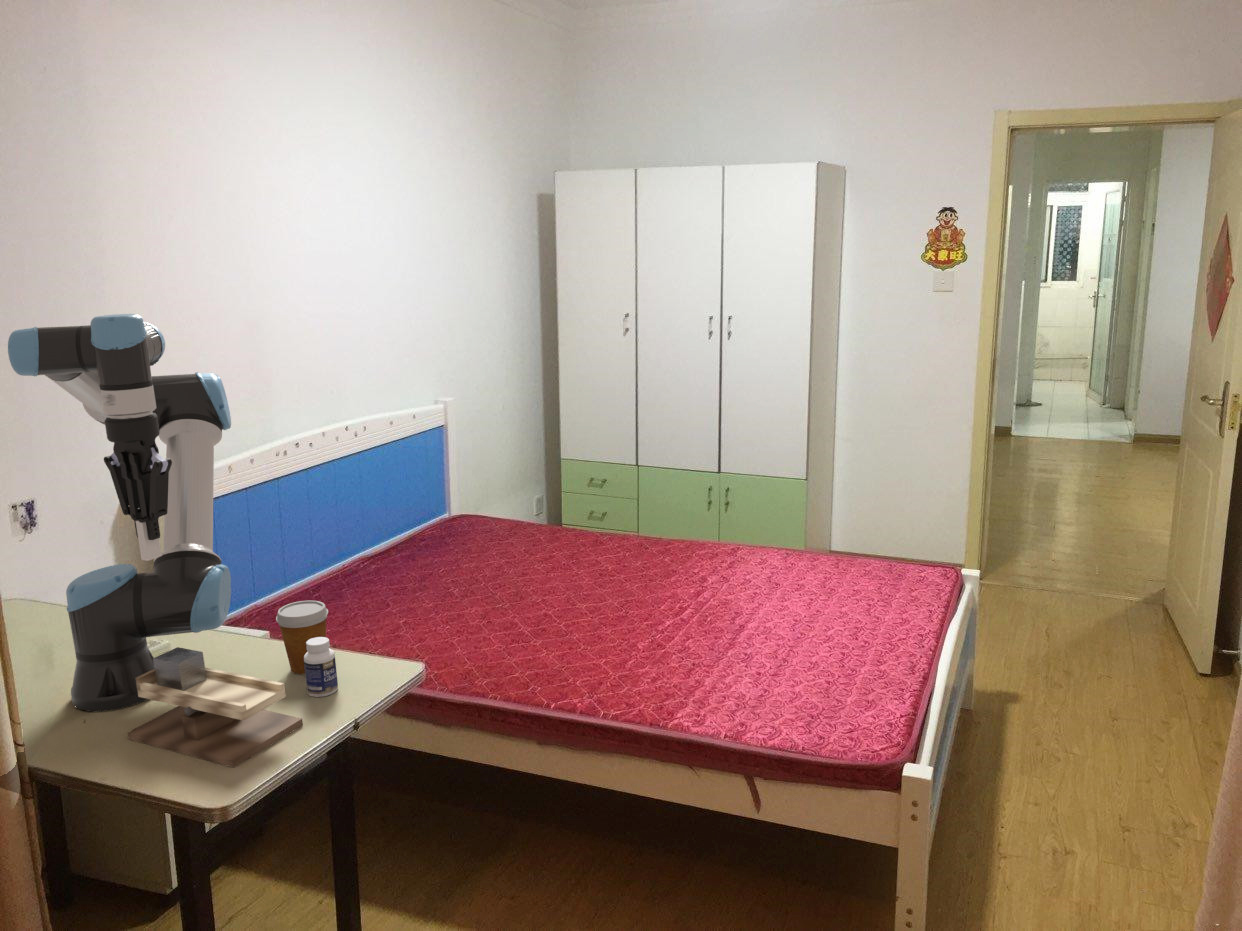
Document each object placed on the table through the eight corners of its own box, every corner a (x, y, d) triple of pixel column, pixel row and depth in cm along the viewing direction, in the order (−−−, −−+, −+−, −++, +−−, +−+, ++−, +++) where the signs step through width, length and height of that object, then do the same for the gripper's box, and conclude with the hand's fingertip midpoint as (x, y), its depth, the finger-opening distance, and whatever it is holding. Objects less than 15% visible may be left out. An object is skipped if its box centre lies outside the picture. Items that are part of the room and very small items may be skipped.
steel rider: (157, 686, 169) (152, 658, 168) (181, 674, 174) (177, 647, 173) (182, 691, 167) (178, 663, 166) (206, 679, 171) (202, 651, 170)
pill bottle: (329, 698, 180) (324, 647, 178) (302, 697, 181) (296, 646, 179) (343, 685, 185) (338, 635, 183) (316, 684, 186) (311, 634, 184)
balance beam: (136, 704, 169) (132, 679, 168) (185, 679, 178) (182, 656, 177) (242, 728, 158) (238, 701, 157) (288, 701, 167) (285, 676, 166)
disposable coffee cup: (334, 673, 190) (328, 613, 188) (281, 681, 188) (274, 620, 185) (333, 654, 199) (327, 596, 197) (282, 661, 197) (275, 603, 194)
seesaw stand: (128, 739, 168) (124, 711, 167) (200, 701, 181) (197, 675, 180) (234, 767, 157) (230, 738, 156) (302, 725, 170) (299, 697, 169)
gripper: (81, 416, 158) (103, 560, 163) (138, 420, 152) (160, 569, 158) (122, 408, 164) (143, 547, 170) (179, 412, 159) (199, 555, 164)
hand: (151, 557), depth 164 cm, fingers closed
